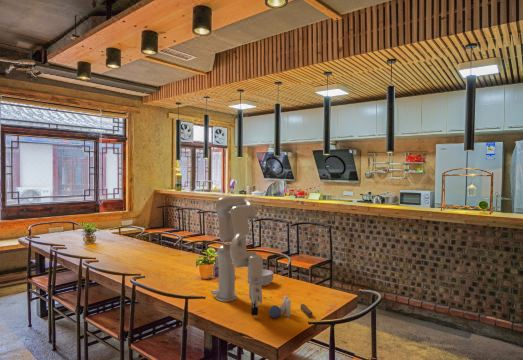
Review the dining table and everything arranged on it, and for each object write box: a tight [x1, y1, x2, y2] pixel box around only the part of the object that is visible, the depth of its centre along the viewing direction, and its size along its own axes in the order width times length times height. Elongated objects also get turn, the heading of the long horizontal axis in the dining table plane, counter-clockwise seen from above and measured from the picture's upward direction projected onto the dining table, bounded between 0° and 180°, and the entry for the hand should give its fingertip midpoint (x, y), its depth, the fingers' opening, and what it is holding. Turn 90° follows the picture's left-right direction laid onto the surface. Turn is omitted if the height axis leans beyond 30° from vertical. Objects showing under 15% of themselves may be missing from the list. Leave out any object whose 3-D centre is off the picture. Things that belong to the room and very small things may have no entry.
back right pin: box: [285, 298, 292, 319], centre depth 181 cm, size 2×2×9 cm
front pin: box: [279, 297, 287, 316], centre depth 183 cm, size 2×2×9 cm
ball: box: [268, 305, 281, 319], centre depth 180 cm, size 6×6×6 cm
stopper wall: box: [300, 303, 313, 319], centre depth 186 cm, size 2×12×2 cm, turn 14°
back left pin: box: [282, 295, 290, 314], centre depth 186 cm, size 2×2×9 cm
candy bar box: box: [212, 251, 219, 278], centre depth 253 cm, size 11×5×16 cm, turn 138°
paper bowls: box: [261, 269, 274, 287], centre depth 233 cm, size 15×15×8 cm
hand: (254, 314), depth 180 cm, fingers closed
